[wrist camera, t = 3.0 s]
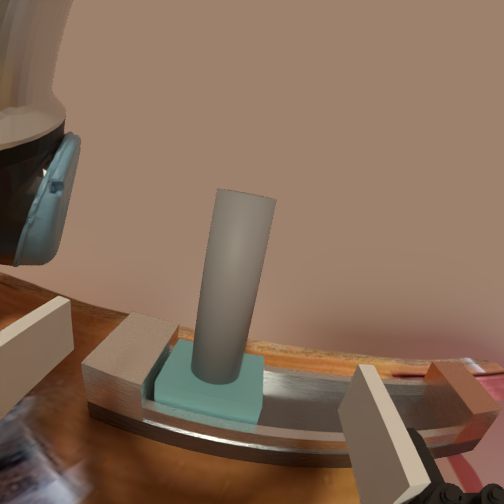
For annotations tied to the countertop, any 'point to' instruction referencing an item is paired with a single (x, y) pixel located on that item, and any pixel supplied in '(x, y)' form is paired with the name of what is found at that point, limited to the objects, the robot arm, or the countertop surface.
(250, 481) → the countertop surface
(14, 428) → the countertop surface
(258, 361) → the carriage
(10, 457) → the countertop surface
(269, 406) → the rail track
